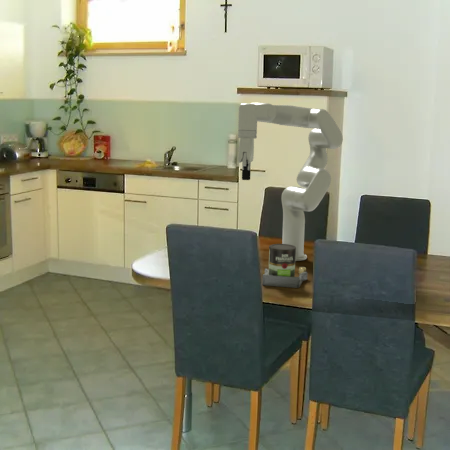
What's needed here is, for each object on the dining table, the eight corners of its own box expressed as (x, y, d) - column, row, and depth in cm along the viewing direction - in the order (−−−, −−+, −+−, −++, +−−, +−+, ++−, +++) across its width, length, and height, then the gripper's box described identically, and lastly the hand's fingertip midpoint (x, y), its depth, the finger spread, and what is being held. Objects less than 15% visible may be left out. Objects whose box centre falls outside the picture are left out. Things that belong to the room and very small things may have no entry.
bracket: (264, 275, 273) (265, 266, 273) (307, 279, 270) (307, 269, 269) (258, 284, 261) (258, 274, 260) (303, 288, 257) (303, 278, 256)
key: (299, 269, 284) (299, 266, 284) (306, 270, 283) (306, 267, 283) (297, 273, 278) (297, 270, 277) (304, 274, 277) (304, 271, 277)
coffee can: (297, 285, 260) (298, 249, 258) (270, 286, 259) (271, 249, 256) (291, 278, 270) (293, 243, 268) (265, 278, 269) (266, 243, 266)
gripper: (241, 133, 285) (240, 177, 288) (234, 135, 270) (233, 181, 274) (259, 133, 283) (257, 178, 287) (253, 135, 269) (252, 182, 272)
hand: (246, 179), depth 280 cm, fingers closed
